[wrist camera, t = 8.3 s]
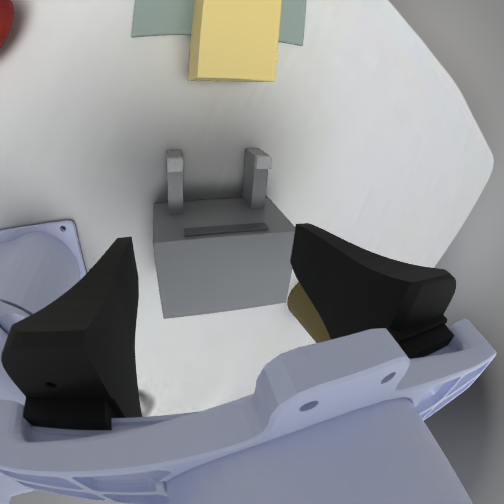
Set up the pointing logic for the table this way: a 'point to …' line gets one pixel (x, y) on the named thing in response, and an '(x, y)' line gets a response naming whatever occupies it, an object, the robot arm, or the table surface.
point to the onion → (5, 19)
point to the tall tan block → (234, 40)
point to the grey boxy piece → (221, 245)
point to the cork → (307, 314)
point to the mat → (181, 15)
